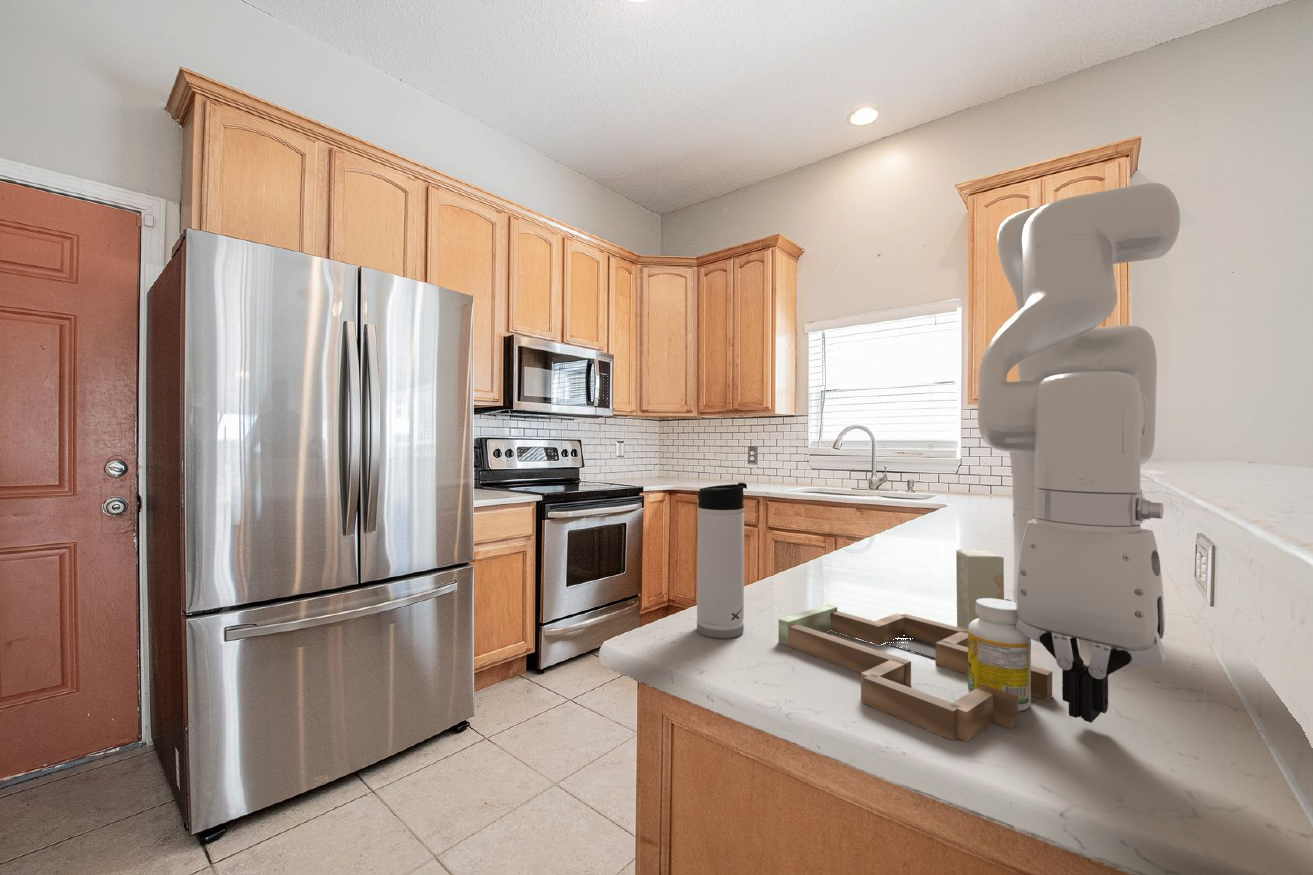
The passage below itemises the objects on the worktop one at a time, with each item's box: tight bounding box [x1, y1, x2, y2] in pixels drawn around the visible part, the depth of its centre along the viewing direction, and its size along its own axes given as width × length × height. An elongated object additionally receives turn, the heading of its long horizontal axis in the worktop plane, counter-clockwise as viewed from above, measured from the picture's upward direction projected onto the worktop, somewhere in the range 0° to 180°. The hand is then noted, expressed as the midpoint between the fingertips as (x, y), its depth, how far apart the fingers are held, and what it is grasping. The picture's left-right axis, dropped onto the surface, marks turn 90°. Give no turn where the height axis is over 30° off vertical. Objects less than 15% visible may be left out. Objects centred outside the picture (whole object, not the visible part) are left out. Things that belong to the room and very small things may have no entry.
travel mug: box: [696, 482, 748, 640], centre depth 75 cm, size 6×7×20 cm
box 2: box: [955, 549, 1005, 630], centre depth 73 cm, size 5×4×11 cm
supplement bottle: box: [967, 598, 1032, 712], centre depth 55 cm, size 5×5×10 cm
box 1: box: [778, 604, 1053, 742], centre depth 63 cm, size 23×26×3 cm
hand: (1084, 714), depth 50 cm, fingers closed
